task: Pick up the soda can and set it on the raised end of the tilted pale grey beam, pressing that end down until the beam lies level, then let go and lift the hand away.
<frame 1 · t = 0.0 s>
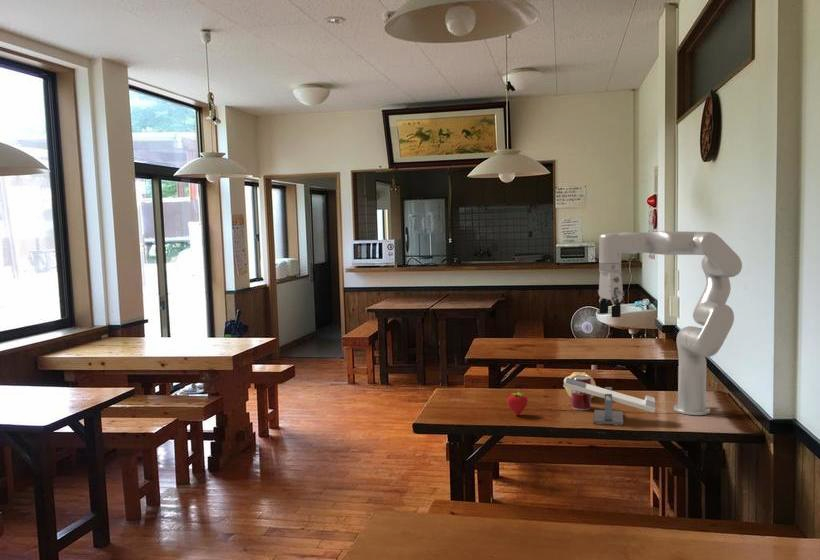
hand: (609, 315, 243), 37 cm above the table, tool pointing down, fingers open, 9 cm apart
soda can: (581, 408, 258), on the table
strawberry: (517, 415, 250), on the table
beam: (609, 391, 242), point 10 cm above the table, hinge at -14.0°
fulcrum stand: (608, 419, 243), on the table
sculpture: (580, 399, 272), on the table
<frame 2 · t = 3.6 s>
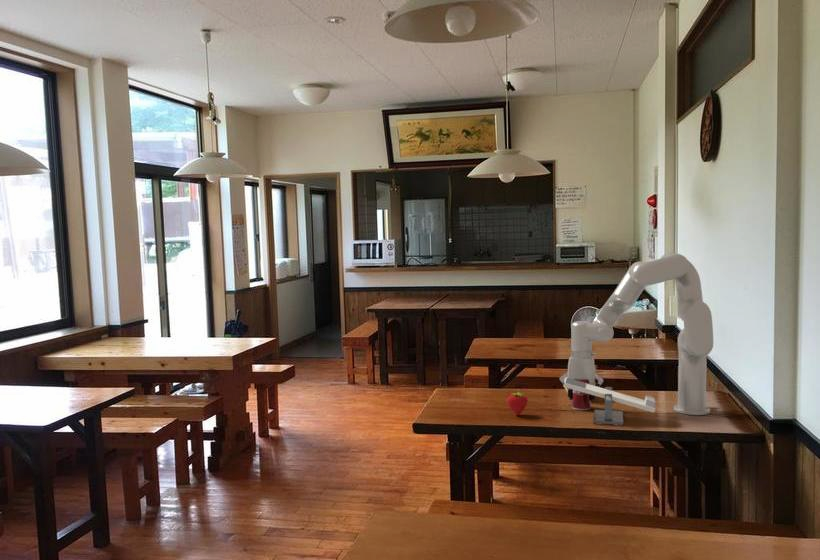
hand: (581, 399, 258), 3 cm above the table, tool pointing down, fingers closed on soda can, 7 cm apart
soda can: (581, 408, 258), on the table, touching gripper
everything else where it was.
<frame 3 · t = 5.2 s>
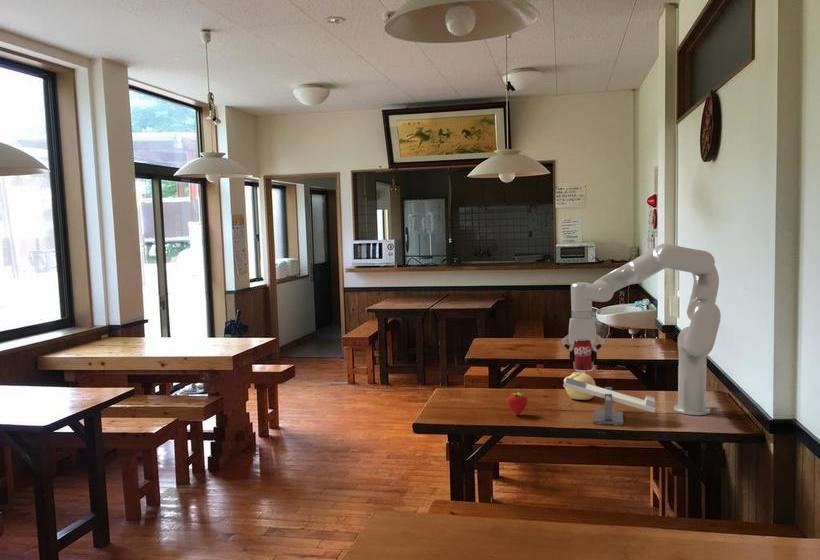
hand: (583, 360, 256), 18 cm above the table, tool pointing down, fingers closed on soda can, 7 cm apart
soda can: (583, 370, 257), point 15 cm above the table, touching gripper
everything else where it was.
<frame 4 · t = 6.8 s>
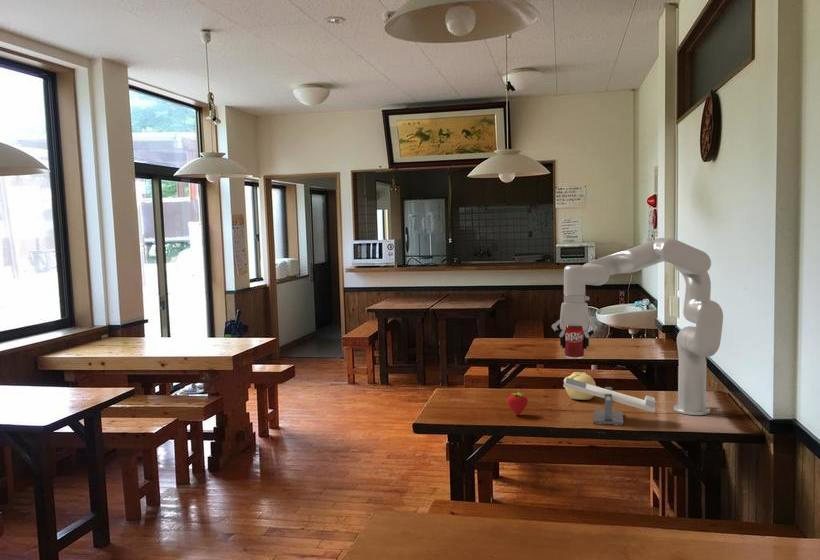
hand: (574, 347, 244), 26 cm above the table, tool pointing down, fingers closed on soda can, 7 cm apart
soda can: (574, 357, 245), point 22 cm above the table, touching gripper
everything else where it was.
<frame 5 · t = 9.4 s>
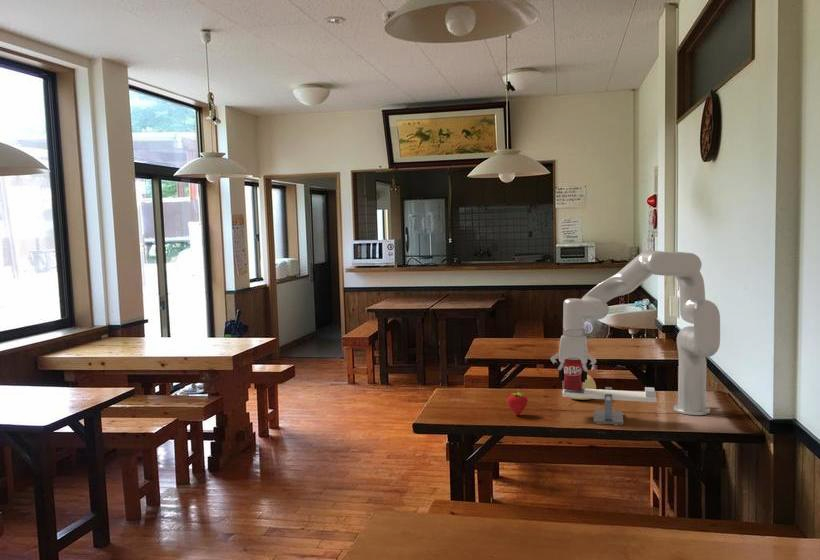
hand: (572, 380, 245), 13 cm above the table, tool pointing down, fingers closed on soda can, 7 cm apart
soda can: (572, 390, 246), point 10 cm above the table, touching beam, gripper
beam: (608, 391, 242), point 10 cm above the table, hinge at -0.4°, touching soda can
everything else where it was.
when the fingers open (13 cm above the table, at t = 10.5 s): soda can stays where it is, resting on beam.
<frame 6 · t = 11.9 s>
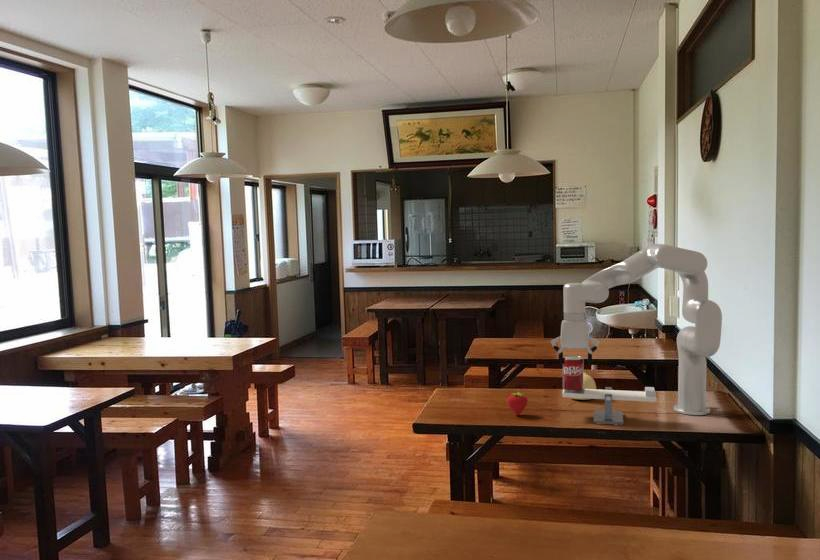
hand: (575, 363, 245), 20 cm above the table, tool pointing down, fingers open, 9 cm apart
soda can: (572, 390, 246), point 10 cm above the table, touching beam
beam: (608, 391, 242), point 10 cm above the table, hinge at 0.0°, touching soda can
everything else where it was.
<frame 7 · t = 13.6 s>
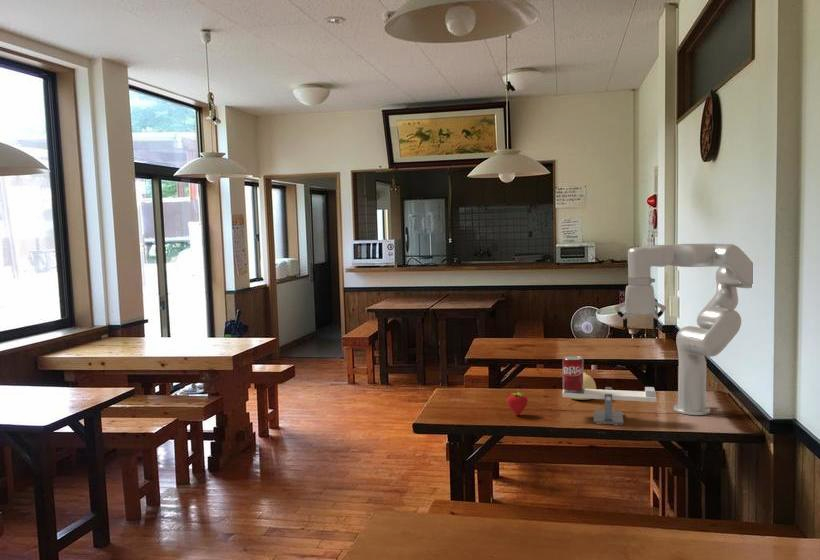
hand: (640, 329, 241), 32 cm above the table, tool pointing down, fingers open, 9 cm apart
nothing on the table moved.
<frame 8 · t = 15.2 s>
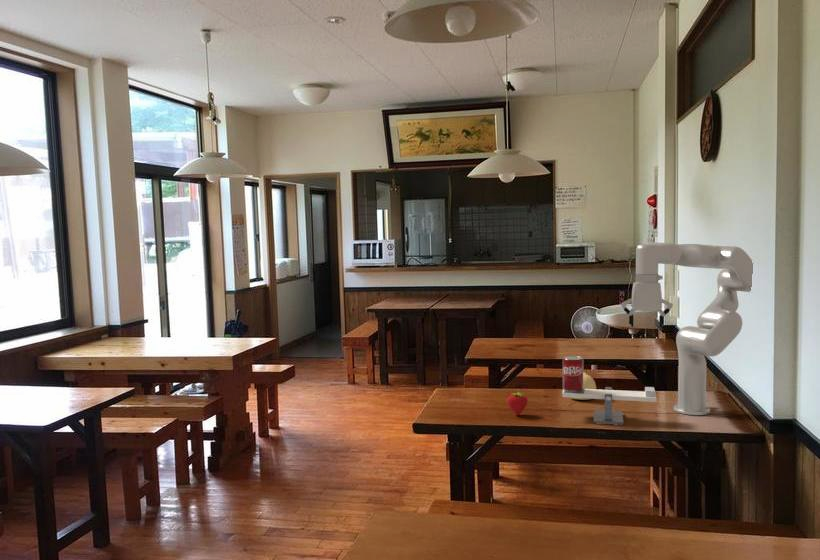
hand: (646, 326, 240), 33 cm above the table, tool pointing down, fingers open, 9 cm apart
nothing on the table moved.
at the end: beam at +0° (first picture: -14°); soda can inside the target area on the beam (0.8 cm from its centre), point 0.7 cm above the beam's base; soda can tilted 0° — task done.
